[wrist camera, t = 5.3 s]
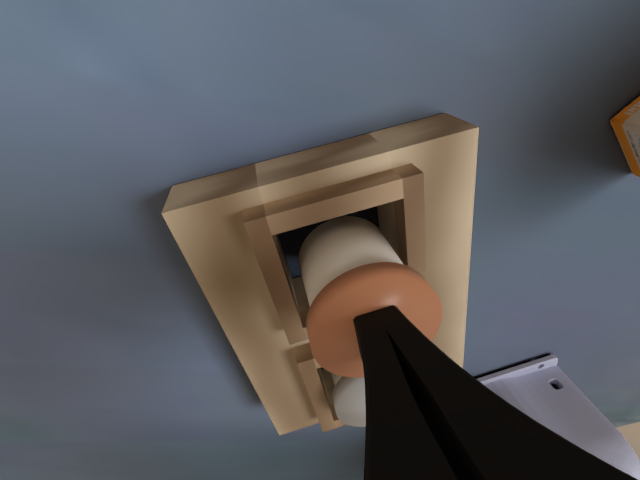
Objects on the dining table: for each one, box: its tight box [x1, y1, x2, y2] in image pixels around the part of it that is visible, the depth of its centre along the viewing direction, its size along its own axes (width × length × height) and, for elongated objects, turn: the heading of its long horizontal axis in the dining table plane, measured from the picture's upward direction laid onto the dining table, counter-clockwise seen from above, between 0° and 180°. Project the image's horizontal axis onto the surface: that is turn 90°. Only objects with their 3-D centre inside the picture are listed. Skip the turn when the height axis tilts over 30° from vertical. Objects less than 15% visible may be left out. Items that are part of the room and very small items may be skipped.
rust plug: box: [299, 216, 442, 378], centre depth 13 cm, size 4×4×4 cm
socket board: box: [161, 113, 479, 435], centre depth 17 cm, size 12×16×4 cm
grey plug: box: [331, 373, 366, 427], centre depth 19 cm, size 4×4×4 cm
